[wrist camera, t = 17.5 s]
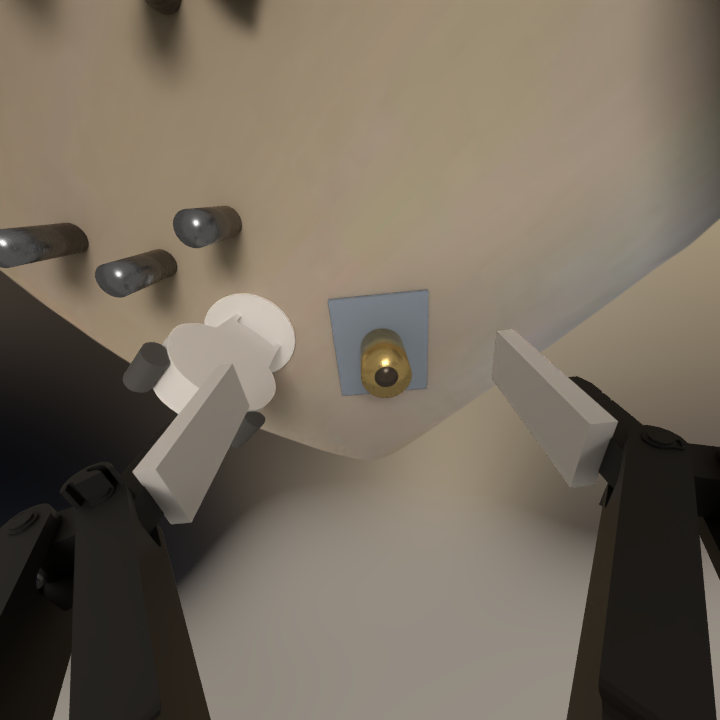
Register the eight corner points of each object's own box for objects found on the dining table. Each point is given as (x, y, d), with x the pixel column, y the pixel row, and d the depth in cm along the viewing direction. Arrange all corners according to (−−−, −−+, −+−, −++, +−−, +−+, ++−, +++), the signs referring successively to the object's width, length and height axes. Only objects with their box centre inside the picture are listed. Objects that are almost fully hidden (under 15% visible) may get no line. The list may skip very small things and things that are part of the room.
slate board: (427, 289, 36) (428, 290, 35) (425, 385, 43) (426, 388, 42) (328, 299, 36) (327, 300, 36) (342, 393, 43) (342, 395, 43)
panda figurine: (183, 336, 38) (95, 409, 25) (230, 269, 34) (155, 315, 21) (263, 388, 42) (222, 474, 29) (313, 333, 38) (292, 405, 25)
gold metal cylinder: (402, 326, 38) (412, 352, 31) (403, 365, 40) (412, 396, 34) (358, 330, 38) (358, 356, 31) (362, 368, 40) (363, 399, 34)
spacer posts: (153, -119, 21) (55, -272, 14) (253, 267, 34) (228, 286, 27) (-115, -82, 22) (-336, -213, 15) (84, 285, 35) (16, 307, 28)
